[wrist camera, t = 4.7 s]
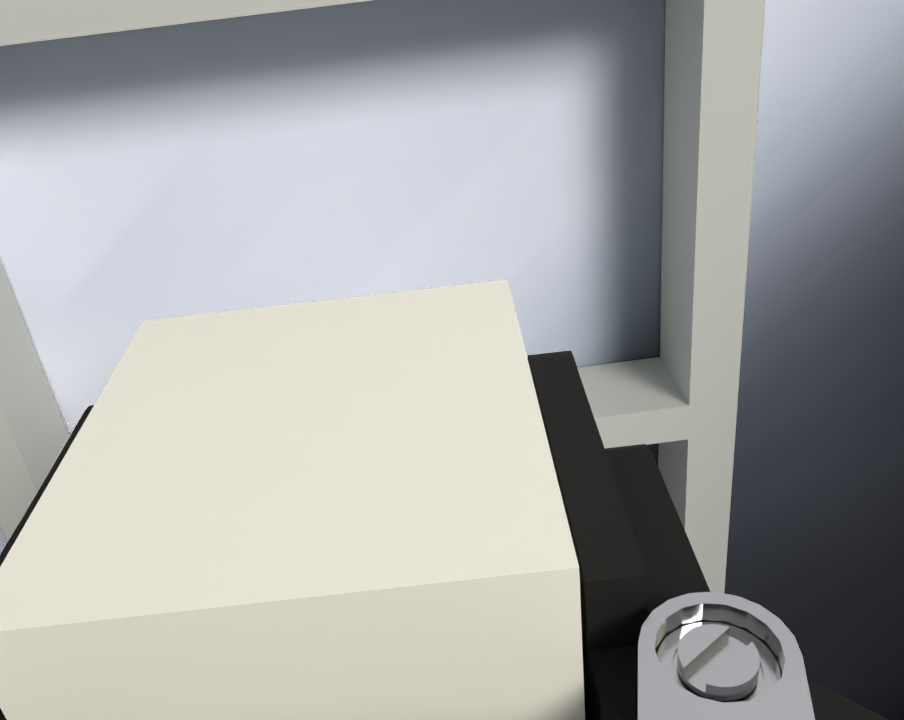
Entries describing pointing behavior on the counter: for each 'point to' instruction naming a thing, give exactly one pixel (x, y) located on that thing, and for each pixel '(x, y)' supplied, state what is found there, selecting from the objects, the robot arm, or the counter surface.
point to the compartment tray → (607, 385)
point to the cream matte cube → (304, 526)
